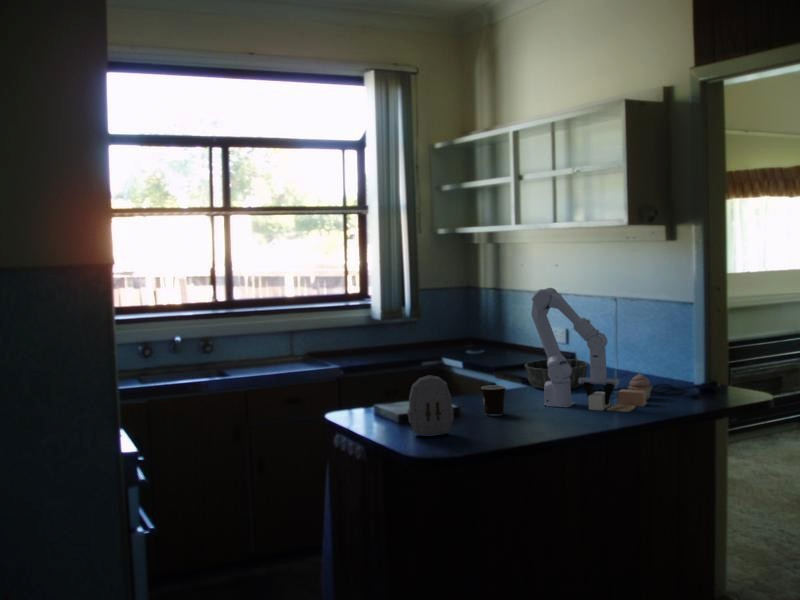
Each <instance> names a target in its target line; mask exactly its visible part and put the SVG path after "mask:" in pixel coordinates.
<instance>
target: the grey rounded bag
mask: <svg viewBox="0 0 800 600" xmlns="http://www.w3.org/2000/svg"><path fill="white" fill-rule="evenodd" d="M410 388H411V389H410V393H409V394H408V395H409V396H408V402H409V403H408V407H409V408H408V409H407V417H408V423H409V424H410V425H411V426H410V427H411V429H412V431H413V434H414V433H416V434H424V435H432V434H444V435H446V433H447V434H449V433H450V430H451V427H452V423H453V421H454V419H455V418H454V414H455V411H454V407H453V406H452V405H453V402H452V394H451V392H450V390H449V387H448V382H447V381H445V380H444V379H442V378H441V377H440V376H438V375H437V376H436V375H431V374H428V375H425V376H422V377H418V379H417V380H416V381H415V382H413V384H412V385H411V387H410Z"/></svg>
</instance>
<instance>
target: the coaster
mask: <svg viewBox="0 0 800 600" xmlns="http://www.w3.org/2000/svg"><path fill="white" fill-rule="evenodd" d="M636 407H637V406H629V405H618V404H612V405H611V406H609V407H607V408H606V411H611V412H622V413H623V412H624V413H625V412H627V413H630V412H631V411H633V410H634V409H636Z"/></svg>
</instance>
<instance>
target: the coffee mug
mask: <svg viewBox="0 0 800 600" xmlns="http://www.w3.org/2000/svg"><path fill="white" fill-rule="evenodd" d="M480 390H481V397H482V403H483V410H484V414H485V413H487V414H501V413H503V414H504V407H505V406H504V405H505V394H506V386H504V385H498V384H491V385H484V386H481V387H480Z"/></svg>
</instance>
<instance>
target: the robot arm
mask: <svg viewBox="0 0 800 600" xmlns="http://www.w3.org/2000/svg"><path fill="white" fill-rule="evenodd" d="M531 301H532V305H531V312H530V313H531V317H532V320H533V323H534V326H535V329H536V331H537V334H538V337H539V339H540V342H541V344H542V346H543V350H544V352H545V355H546V357H547V359H548V362H547V366H548V376H549V378H550V379H551V381H547V382H546V383H545V385H544V390H543V395H544V397H543V398H544V399H543V400H544V403H543V406H544V405H546V406H545V407H555V408H556V407H558V408H569V407H571V406H573V405H574V404H575V403H576V402H575V401H572V392H571V390H572V389H571V386H570V378H569V377H570V376H571V374H572V367H571V366H570V365H569V364H568V362H567V361H566V359H567V358H566V357H565V356H564V355H563V354H562V352H561V350H560V346H559V345H558V342H557V339H556V337H555V334H554V331H553V329H552V326H551V323H550V321H549V318H548V316H547V315H548V313H549V311H550V309H557V310H558V311H559V312H560V313H562V315H564V316H565V317H566V318H567V319H568V321H570V322H571V323H572V324H573V330H574V331H575V332H576V333H577V334H578V335H579V336H580V337H581V338H582V339H583V340H584V342H586V346H587V348H588V349H589V373H590V375H589V377H586V378H578V382H579V384H581V383H582V384H581V385H582V387H583V390H584V391H585V394H586V395H587V397H588V396H589V395H591V394H593V393H594V385H604V386H603V389H604V392H605V404H606V405H608V404H609V400H610V399H611V397H612V396H611V395H612V393H613V390H614V388H615V386H619V385H620V378H611V377H610V378H609V377H608V376H607V354H606V346H607V344H608V338H607V336H606V335H605V334H604V333H602V332H601V331H600V330H599V329H597V328H596V327H595V326H594V325H593V324H591V322H592V321H591V320H590V319H589V318H588V319H587V318H586V317H580V316H579V314H578V313H577V312H576V311H575V310H574V309H573V307H572V306H571V305H570V304H569V303H568V302H567V301H566V300H565V298H564V297H563V296H562V294H561V293H559V292H558V290H556V289H555V288H553V287H547V288H543V289H542V288H541V289H538V290H536V291H535V293H534V295H533V296H532V298H531Z"/></svg>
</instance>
